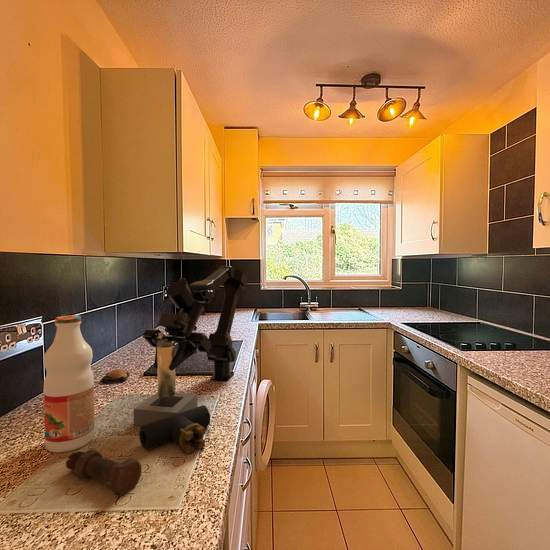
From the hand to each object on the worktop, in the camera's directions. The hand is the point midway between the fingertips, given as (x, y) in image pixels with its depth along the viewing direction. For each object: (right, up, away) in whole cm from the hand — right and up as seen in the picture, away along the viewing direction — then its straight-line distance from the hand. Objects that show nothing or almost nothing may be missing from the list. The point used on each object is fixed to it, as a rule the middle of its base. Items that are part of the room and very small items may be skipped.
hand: (163, 368), depth 82 cm
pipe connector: (+8, -14, -10) cm, 19 cm away
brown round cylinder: (0, -7, +1) cm, 7 cm away
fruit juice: (-17, -13, -10) cm, 24 cm away
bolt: (-3, -14, -23) cm, 27 cm away
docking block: (+1, -13, +2) cm, 13 cm away
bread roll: (-27, -13, +29) cm, 42 cm away
